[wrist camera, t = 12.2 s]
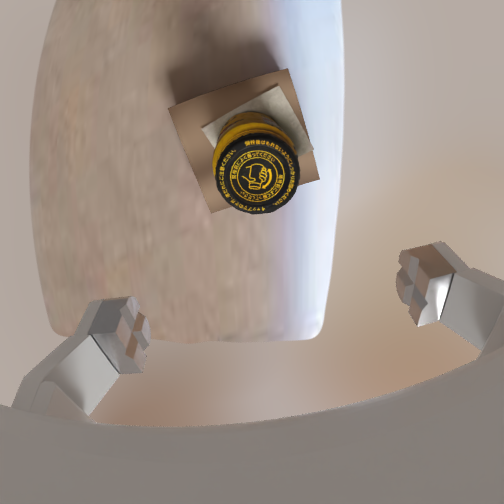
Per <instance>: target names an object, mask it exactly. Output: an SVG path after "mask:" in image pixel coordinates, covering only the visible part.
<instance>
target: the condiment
mask: <svg viewBox="0 0 504 504" xmlns="http://www.w3.org/2000/svg"><path fill="white" fill-rule="evenodd" d="M202 131H203V132H204V134H205V135H206V137H207V138H208V140H209V141H210V143H211V144H212V146H213V147H214V152H213V161H212V167H213V173H214V176H215V180H216V186H217V189H218V191H219V192H220V194H221V196H222V197H223V198H224V199H225V201H226V202H227V203H228V204H229V205H232V206H233V207H234V208H235V209H238V210H240V211H243V212H247V213H250V214H263V213H271V212H274V211H276V210H277V209H279V208H280V207H282V206H284V205H285V204H286V203H287V202H288V201H289V200H291V198H292V197H293V195H294V194H295V192H296V189H297V187H298V185H299V180H300V171H301V170H300V167H299V161H298V157H300V156H302V155H304V154H306V153H308V152H310V151H312V150H314V148H313V146H312V144H311V143H310V141H309V139H308V137H307V135H306V133H305V131H304V130H303V128H302V126H301V124H300V122H299V120H298V118H297V117H296V115H295V113H294V111H293V109H292V107H291V106H290V104H289V102H288V100H287V99H286V97H285V95H284V93H283V92H282V90H281V88H280V86H277V87H275V88H273V89H271V90H269V91H267V92H265V93H263V94H262V95H260V96H258V97H256V98H254V99H252V100H250V101H248V102H247V103H245V104H243V105H241V106H239V107H238V108H236V109H234V110H232V111H230V112H229V113H227V114H225V115H224V116H222V117H220V118H218V119H217V120H215V121H214V122H212V123H210V124H209V125H207V126H205V127H204V128H202Z"/></svg>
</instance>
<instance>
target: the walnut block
mask: <svg viewBox="0 0 504 504" xmlns="http://www.w3.org/2000/svg"><path fill="white" fill-rule="evenodd" d="M277 86H280V88H281V90H282V92H283V93H284V95H285V97H286V99H287V100H288V102H289V104H290V106H291V107H292V109H293V111H294V113H295V115H296V117H297V118H298V120H299V122H300V124H301V126H302V128H303V130H304V131H305V133H306V135H307V137H308V139H309V136H308V133H307V129H306V125H305V122H304V119H303V115H302V112H301V108H300V105H299V102H298V99H297V95H296V92H295V89H294V86H293V83H292V80H291V77H290V74H289V71H288V69H284V70H280V71H276V72H272V73H268V74H265V75H261V76H258V77H254V78H251V79H247V80H244V81H241V82H238V83H235V84H232V85H229V86H226V87H223V88H220V89H217V90H214V91H211V92H208V93H206V94H203V95H200V96H198V97H195V98H192V99H190V100H187V101H185V102H182V103H180V104H178V105H175V106H173V107H170V108H168V110H169V113H170V115H171V118H172V120H173V123H174V125H175V128H176V130H177V132H178V135H179V137H180V140H181V142H182V145H183V147H184V150H185V152H186V155H187V157H188V159H189V162H190V164H191V167H192V169H193V171H194V174H195V176H196V179H197V181H198V183H199V186H200V188H201V191H202V193H203V195H204V198H205V200H206V202H207V205H208V207H209V210H210V212H211V213H214V212H217V211H220V210H223V209H226V208H229V207H232V205H229V204H228V203H227V202H226V201H225V199H224V198H223V197H222V196H221V194H220V192H219V191H218V189H217V186H216V180H215V176H214V173H213V167H212V161H213V152H214V147H213V146H212V144H211V143H210V141H209V140H208V138H207V137H206V135H205V134H204V132H203V131H202V128H204V127H205V126H207V125H209V124H210V123H212V122H214V121H215V120H217V119H218V118H220V117H222V116H224V115H225V114H227V113H229V112H230V111H232V110H234V109H236V108H238V107H239V106H241V105H243V104H245V103H247V102H248V101H250V100H252V99H254V98H256V97H258V96H260V95H262V94H263V93H265V92H267V91H269V90H271V89H273V88H275V87H277ZM309 141H310V140H309ZM298 161H299V167H300V170H301V171H300V180H299V185H302V184H305V183H309V182H312V181H316V180H319V179H320V178H319V174H318V170H317V166H316V162H315V158H314V155H313V151H310V152H308V153H306V154H304V155H302V156H300V157H298ZM299 185H298V186H299Z"/></svg>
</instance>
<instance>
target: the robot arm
mask: <svg viewBox="0 0 504 504" xmlns="http://www.w3.org/2000/svg"><path fill="white" fill-rule="evenodd" d="M399 263H400V264H401V266H402V268H401V269H400V270H399V272H398V273H397V278H396V287H397V292H398V295H399V297H400V299H401V301H402V302H403V303H405V304H407V305H408V306H410V307H409V314H410V316H411V317H412V319H413V320H414V322H415V324H416V325H417V327H418V326H422V325H426V324H429V323H433V322H436V321H439V320H440V322H441V323H442V324H444V325H445V326H447V327H448V328H450V329H451V330H453V331H454V332H455V333H457V334H458V335H460V336H461V337H463V338H464V339H466V340H467V341H468V342H470V343H471V344H473V345H474V346H475V347H477V348H478V349H480V350H481V352H480V354H479V356H478V358H477V359H476V360H474V361H472V362H470V363H468V364H465V365H463V366H461V367H459V368H456V369H454V370H452V371H449V372H447V373H444V374H442V375H439V376H437V377H434V378H432V379H429V380H426V381H424V382H421V383H418V384H415V385H413V386H410V387H407V388H404V389H401V390H398V391H395V392H392V393H389V394H385V395H382V396H378V397H375V398H372V399H368V400H365V401H361V402H357V403H353V404H349V405H345V406H341V407H336V408H332V409H328V410H323V411H318V412H313V413H308V414H302V415H297V416H291V417H285V418H279V419H271V420H264V421H256V422H247V423H237V424H226V425H211V426H185V427H156V426H130V425H115V424H104V423H96V422H95V421H94V420H93V419H91V418H90V417H89V415H90V414H91V412H92V411H93V410H94V408H95V407H96V406H97V404H98V403H99V402H100V400H101V399H102V398H103V397H104V395H105V394H106V393H107V391H108V390H109V389H110V387H111V386H112V385H113V384H114V382H115V381H116V380H117V378H118V377H119V376H120V375H119V374H132V373H143V370H144V365H145V361H146V357H147V356H146V354H145V353H144V350H145V349H146V348H147V347H148V346H149V344H150V339H151V333H150V326H149V323H148V321H147V319H146V317H145V316H144V315H142V314H141V313H140V312H138V311H139V307H140V305H139V303H138V302H137V300H136V298H135V297H133V296H128V297H119V298H110V299H101V300H94V301H92V302H90V303H89V305H88V307H87V309H86V311H85V313H84V315H83V317H82V319H81V321H80V323H79V325H78V328H77V330H76V332H75V334H74V336H70V337H68V339H66V340H65V341H64V342H63V343H62V344H60V345H59V346H58V347H57V348H56V349H55V350H54V351H52V352H51V353H50V354H49V355H48V356H47V357H46V358H45V359H44V360H42V361H41V362H40V363H39V364H38V365H37V366H36V367H35V368H34V369H33V370H31V371H30V372H29V373H28V374H27V375H26V376H25V377H24V378H23V380H22V382H21V384H20V387H19V389H18V392H17V394H16V397H15V399H14V401H13V404H12V406H11V407H8V406H4V405H0V504H504V281H503V280H501V279H499V278H496V277H494V276H492V275H489V274H487V273H485V272H482V271H480V270H478V269H475V268H471V269H470V268H469V267H468V266H467V265H466V264H465V263H464V262H463V261H462V260H461V259H460V258H459V257H458V256H457V255H456V254H455V252H453V250H452V249H451V248H450V247H449V246H448V245H447V244H446V243H444V242H441V241H439V242H435V243H431V244H428V245H425V246H420V247H415V248H411V249H406V250H402V251H401V253H400V255H399Z"/></svg>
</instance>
